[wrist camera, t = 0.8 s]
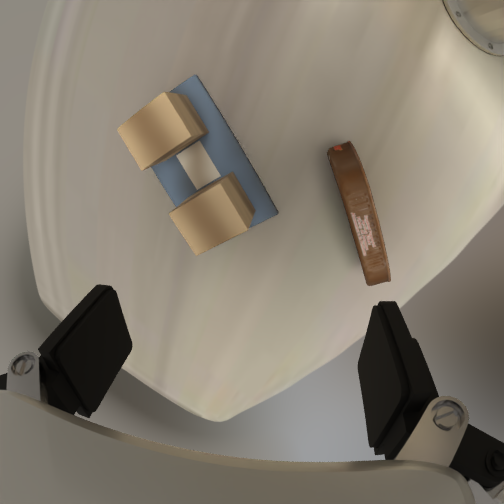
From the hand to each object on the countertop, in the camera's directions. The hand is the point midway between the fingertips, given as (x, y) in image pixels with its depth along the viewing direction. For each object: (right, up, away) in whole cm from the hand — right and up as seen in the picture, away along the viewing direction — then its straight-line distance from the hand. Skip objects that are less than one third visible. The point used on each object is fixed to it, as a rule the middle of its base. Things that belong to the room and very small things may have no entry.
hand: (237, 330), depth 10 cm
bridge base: (-5, +12, +22) cm, 26 cm away
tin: (+12, +8, +22) cm, 26 cm away
